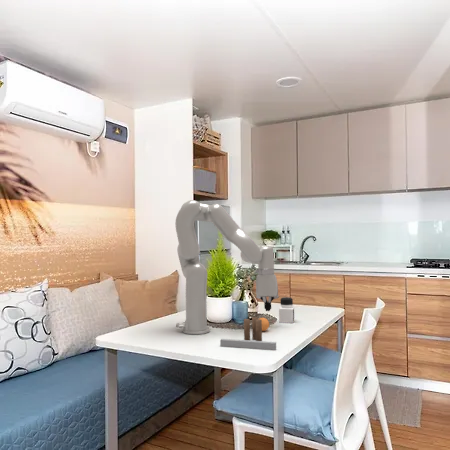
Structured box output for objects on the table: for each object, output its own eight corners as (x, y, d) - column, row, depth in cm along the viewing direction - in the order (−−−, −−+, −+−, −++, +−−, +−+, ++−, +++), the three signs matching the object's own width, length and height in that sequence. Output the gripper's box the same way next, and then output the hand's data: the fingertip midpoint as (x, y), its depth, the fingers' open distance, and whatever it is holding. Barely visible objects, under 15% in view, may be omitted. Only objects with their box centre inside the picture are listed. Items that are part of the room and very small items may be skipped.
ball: (257, 332, 187) (257, 319, 187) (255, 329, 193) (254, 316, 193) (270, 332, 187) (270, 318, 187) (267, 329, 193) (267, 316, 193)
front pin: (252, 340, 174) (252, 318, 174) (251, 338, 176) (251, 317, 177) (258, 339, 174) (258, 318, 174) (257, 338, 177) (257, 317, 177)
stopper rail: (220, 346, 165) (220, 339, 165) (221, 344, 167) (221, 338, 167) (275, 350, 159) (275, 343, 159) (276, 348, 161) (276, 342, 161)
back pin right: (256, 342, 169) (256, 320, 170) (255, 341, 172) (255, 319, 172) (262, 342, 170) (262, 320, 170) (261, 341, 172) (261, 319, 172)
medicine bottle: (293, 323, 205) (293, 298, 206) (279, 322, 207) (278, 298, 207) (294, 320, 212) (293, 296, 213) (280, 319, 214) (279, 296, 214)
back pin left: (244, 342, 171) (244, 320, 171) (243, 340, 173) (243, 318, 173) (250, 341, 171) (250, 319, 171) (249, 340, 174) (249, 318, 174)
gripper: (249, 273, 198) (251, 312, 198) (280, 273, 194) (282, 312, 194) (252, 271, 205) (254, 308, 205) (283, 271, 201) (284, 309, 201)
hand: (268, 310), depth 199 cm, fingers closed
